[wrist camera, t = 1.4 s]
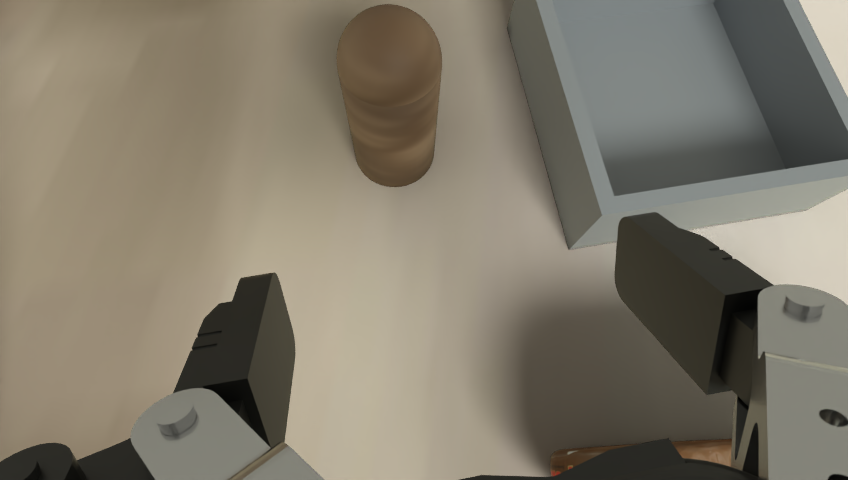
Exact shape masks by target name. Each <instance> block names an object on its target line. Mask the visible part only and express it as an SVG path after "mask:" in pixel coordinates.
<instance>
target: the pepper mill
mask: <svg viewBox="0 0 848 480" xmlns="http://www.w3.org/2000/svg"><path fill="white" fill-rule="evenodd" d="M337 69H338V74H339V79H340V83H341V88H342V93H343V98H344V102H345V107H346V112H347V117H348V122H349V126H350V131H351V136H352V141H353V146H354V150H355V155H356V160H357V163H358V165H359V167H360V169H361V171H362V172H363V173H364V174H365V175H366V176H367V177H368V178H369V179H370V180H372V181H374V182H375V183H378V184H380V185H384V186H389V187H401V186H406V185H409V184H411V183H414V182H416V181H417V180H419V179H420V178H421V177H422V176H424V174H425V173H426V172H427V171H428V169H429V168H430V166H431V164H432V161H433V156H434V146H435V135H436V124H437V113H438V102H439V92H440V81H441V70H442V54H441V48H440V44H439V41H438V39H437V37H436V35H435V32H434V31H433V29H432V28H431V26H430V25H429V24H428V23H427V22H426V20H425V19H423V18H422V17H421V16H420V15H419V14H417V13H416V12H414V11H412V10H410V9H408V8H405V7H402V6H398V5H391V4H385V5H378V6H374V7H371V8H369V9H366V10H364V11H363V12H361V13H360V14H358V15H357V16H356V17H355V18H354V19H353V20H351V21H350V23H349V24H348V25H347V27H346V28H345V30H344V32H343V33H342V36H341V38H340V41H339V44H338V49H337Z"/></svg>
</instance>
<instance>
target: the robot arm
mask: <svg viewBox="0 0 848 480" xmlns="http://www.w3.org/2000/svg"><path fill="white" fill-rule="evenodd" d="M615 284H616V288H617V291H618V294H619V296H620V298H621V299H622V300H623V302H624V303H625V304H626V305H627V306H628V307H629V308H630V310H631V311H632V312H633V313H634V314H635V315H636V316H637V317H638V319H639V320H640V321H641V322H642V323H643V324H644V325H645V326H646V327H647V329H648V330H649V331H650V332H651V333H652V334H653V335H654V336H655V338H656V339H657V340H658V341H659V342H660V343H661V344H662V345H663V347H664V348H665V349H666V350H667V351H668V352H669V353H670V354H671V355H672V357H673V358H674V359H675V360H676V361H677V362H678V363H679V364H680V366H681V367H682V368H683V369H684V370H685V371H686V372H687V373H688V374H689V376H690V377H691V378H692V379H693V380H694V381H695V382H696V383H697V385H698V386H699V387H700V388H701V389H702V390H703V391H704V392H705V394H706V395H709V394H714V393H719V392H724V391H730V390H733V391H734V392H735V393H736V399H735V404H734V409H733V428H732V449H731V467H730V466H726V465H723V464H719V463H714V462H710V461H705V460H698V459H690V458H682V456H681V455H680V454H679V452H678V451H677V449H676V448H675V447H674V445H673V444H672V442H671V441H670V440H669V438H667V439H662V440H657V441H652V442H647V443H642V444H637V445H632V446H627V447H622V448H617V449H611V450H608V451H606V452H604V453H602V454H600V455H597V456H595V457H593V458H591V459H589V460H587V461H585V462H583V463H581V464H579V465H577V466H575V467H573V468H571V469H569V470H566V471H564V472H562V473H560V474H558V475H555V476H552V477H524V476H491V475H480V476H475V477H470V478H465V479H460V480H848V305H847V304H845V303H844V302H843V301H842V300H840V299H839V298H837V297H835V296H833V295H831V294H829V293H826V292H824V291H821V290H818V289H814V288H810V287H806V286H800V285H775V286H774V285H773V284H771V283H770V282H768V281H767V280H765V279H764V278H763V277H761V276H760V275H758V274H757V273H755V272H754V271H752V270H751V269H750V268H748V267H747V266H745V265H744V264H742V263H741V262H739V261H738V260H737V259H732V256H731V255H729V254H728V253H726V252H725V251H723V250H719V247H718V246H716V245H715V244H713V243H712V242H710V241H709V240H708V239H706V238H705V237H703V236H701V235H698V234H695V233H692V232H690V231H687V230H684V229H682V228H678V227H677V226H676V225H674V224H673V223H671V222H670V221H669V220H667V219H666V218H664V217H663V216H662V215H660V214H659V213H657V212H651V213H645V214H638V215H632V216H626V217H623V218H622V219H621V220H620V222H619V225H618V234H617V249H616V263H615ZM197 335H198V338H196V339H195V342H194V344H193V346H192V351H190V354H189V356H188V359H187V361H186V363H185V366H184V368H183V371H182V373H181V375H180V378H179V380H178V383H177V385H176V388H175V390H174V392H173V394H171V395H168V396H167V397H165V398H163V399H161V400H159V401H158V402H156V403H154V404H153V405H152V406H151V407H149V408H148V409H147V410H146V411H145V412H144V413H143V414H142V415H141V416H140V417H139V418H138V420H137V421H136V423H135V424H134V426H133V428H132V431H131V438H129V439H128V440H126V441H123V442H121V443H119V444H116V445H114V446H112V447H109V448H107V449H104V450H102V451H99V452H97V453H94V454H92V455H89V456H87V457H84V458H82V459H79V460H76V458H75V457H74V455H73V453H72V452H71V450H70V448H68V447H67V446H66V445H63V444H59V443H46V444H40V445H36V446H33V447H30V448H27V449H24V450H22V451H20V452H18V453H15V454H13V455H12V456H10V457H8V458H6V459H4V460H3V461H1V462H0V480H324V479H323V478H322V477H321V476H320V475H319V474H318V473H317V472H316V471H315V470H314V469H313V468H312V467H311V466H310V465H309V464H307V463H306V462H305V461H304V460H303V459H302V458H301V457H300V456H299V455H298V454H297V453H296V452H295V451H294V450H293V449H292V448H291V447H289V446H288V445H287V444H285V443H284V441H285V433H286V425H287V418H288V410H289V402H290V394H291V386H292V378H293V370H294V362H295V341H294V334H293V329H292V326H291V322H290V318H289V315H288V311H287V307H286V304H285V300H284V296H283V292H282V289H281V285H280V282H279V279H278V276H277V275H276V273H268V274H262V275H256V276H250V277H244V278H241V279H240V280H239V283H238V286H237V289H236V292H235V295H234V298H233V300H232V302H226V303H220V304H218V305H217V306H216V307H215V308H214V309H213V310H212V311H211V312H210V313H209V314H208V315H207V316H206V317H205V318H204V320H203V322H202V325H201V327H200V330H199V332H198V334H197Z"/></svg>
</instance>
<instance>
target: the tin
mask: <svg viewBox="0 0 848 480" xmlns="http://www.w3.org/2000/svg"><path fill="white" fill-rule="evenodd" d="M672 444H673V445H674V447H675V448H676V449H677V451H678V452H679V454H680V455H681V456H682V458H690V459H698V460H705V461H710V462H714V463H719V464H723V465H726V466H730V467H731V449H732V439H719V440H695V441H675V442H672ZM632 445H637V444H629V445H617V446H602V447H587V448H572V449H562V450H558V451H556V452H554V453H553V454H552V456H551V460H550V467H551V477H552V476H555V475H558V474H560V473H562V472H564V471H566V470H569V469H571V468H573V467H575V466H577V465H579V464H581V463H583V462H585V461H587V460H589V459H591V458H593V457H595V456H597V455H600V454H602V453H604V452H606V451H608V450H611V449H617V448H622V447H627V446H632Z"/></svg>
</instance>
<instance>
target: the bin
mask: <svg viewBox="0 0 848 480" xmlns="http://www.w3.org/2000/svg"><path fill="white" fill-rule="evenodd" d="M507 29H508V33H509V36H510V40H511V43H512V47H513V51H514V54H515V58H516V61H517V65H518V68H519V72H520V76H521V79H522V83H523V86H524V90H525V94H526V97H527V101H528V104H529V108H530V112H531V115H532V119H533V122H534V126H535V129H536V133H537V137H538V140H539V144H540V147H541V151H542V155H543V158H544V162H545V165H546V169H547V172H548V176H549V180H550V183H551V187H552V190H553V194H554V198H555V201H556V205H557V208H558V212H559V215H560V219H561V223H562V226H563V230H564V233H565V237H566V241H567V244H568V248H569V250H571V249H577V248H583V247H589V246H595V245H601V244H607V243H613V242H617V234H618V225H619V222H620V220H621V219H622V218H623V217H626V216H632V215H638V214H645V213H651V212H657V213H659V214H660V215H662V216H663V217H664V218H666V219H667V220H669V221H670V222H671V223H673V224H674V225H676V226H677V227H678V228H682V229H684V230H691V229H697V228H703V227H709V226H715V225H721V224H727V223H733V222H739V221H745V220H751V219H757V218H764V217H770V216H776V215H782V214H788V213H794V212H800V211H806V210H808V209H810V208H812V207H814V206H815V205H817V204H819V203H821V202H823V201H825V200H827V199H829V198H831V197H833V196H835V195H837V194H839V193H841V192H843V191H845V190H846V189H848V97H847V95H846V93H845V91H844V89H843V87H842V85H841V83H840V81H839V79H838V77H837V76H836V74H835V72H834V70H833V68H832V66H831V64H830V62H829V60H828V58H827V56H826V54H825V52H824V50H823V48H822V46H821V44H820V42H819V40H818V38H817V36H816V34H815V32H814V30H813V28H812V26H811V24H810V22H809V20H808V18H807V16H806V14H805V12H804V10H803V8H802V6H801V4H800V2H799V0H514V3H513V7H512V11H511V15H510V19H509V23H508V27H507Z"/></svg>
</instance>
